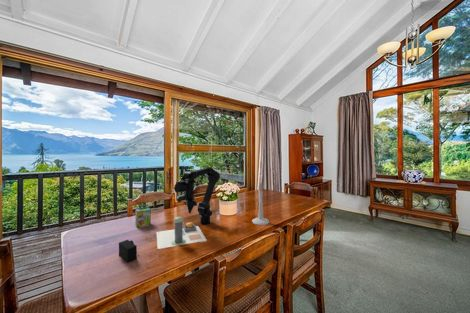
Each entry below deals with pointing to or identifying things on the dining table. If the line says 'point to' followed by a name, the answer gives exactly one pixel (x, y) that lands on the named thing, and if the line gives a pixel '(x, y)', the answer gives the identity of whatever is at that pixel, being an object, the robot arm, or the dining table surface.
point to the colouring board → (168, 238)
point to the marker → (178, 230)
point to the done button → (189, 225)
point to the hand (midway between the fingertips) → (189, 213)
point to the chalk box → (143, 216)
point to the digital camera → (128, 251)
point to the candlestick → (260, 211)
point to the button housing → (189, 228)
